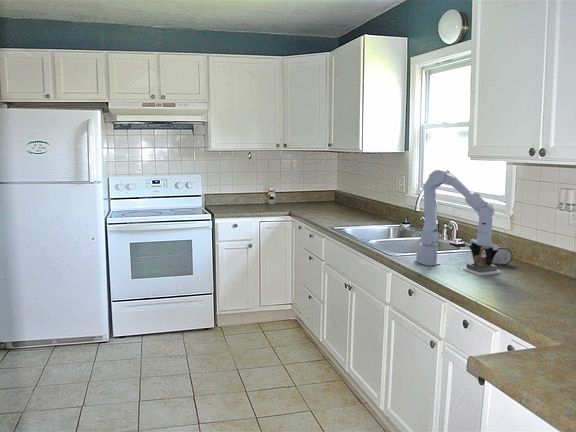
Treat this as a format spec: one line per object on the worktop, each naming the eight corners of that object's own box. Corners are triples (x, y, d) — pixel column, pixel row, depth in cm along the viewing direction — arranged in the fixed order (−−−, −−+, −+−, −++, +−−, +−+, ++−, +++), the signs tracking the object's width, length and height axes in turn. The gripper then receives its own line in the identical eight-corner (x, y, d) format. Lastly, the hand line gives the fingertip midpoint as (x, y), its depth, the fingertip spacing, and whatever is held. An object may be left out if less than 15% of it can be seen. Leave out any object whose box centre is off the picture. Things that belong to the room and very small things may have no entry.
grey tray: (462, 269, 240) (463, 263, 239) (483, 267, 245) (483, 261, 244) (479, 275, 231) (479, 268, 230) (500, 273, 236) (500, 266, 235)
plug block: (473, 268, 238) (474, 255, 237) (483, 267, 241) (484, 254, 240) (480, 270, 235) (481, 257, 234) (490, 269, 237) (491, 256, 236)
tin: (511, 264, 253) (512, 246, 252) (512, 265, 250) (514, 248, 249) (477, 262, 256) (478, 244, 254) (478, 263, 253) (480, 246, 251)
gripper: (504, 234, 230) (501, 265, 232) (479, 229, 243) (477, 258, 245) (491, 235, 227) (489, 267, 229) (467, 230, 240) (465, 259, 242)
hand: (482, 262), depth 237 cm, fingers open, 7 cm apart
